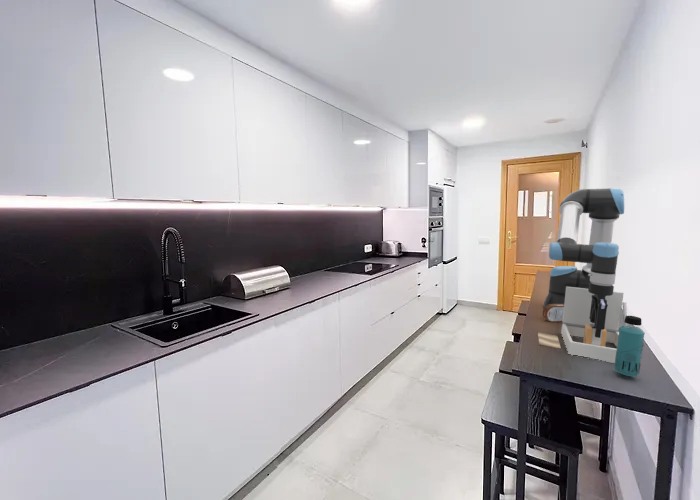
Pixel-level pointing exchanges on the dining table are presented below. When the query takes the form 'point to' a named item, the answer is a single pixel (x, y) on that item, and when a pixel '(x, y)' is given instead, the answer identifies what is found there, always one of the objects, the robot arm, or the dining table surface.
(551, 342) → the metal plate
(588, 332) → the tan and grey block
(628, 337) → the beverage bottle
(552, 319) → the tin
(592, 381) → the dining table surface
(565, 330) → the equipment case
